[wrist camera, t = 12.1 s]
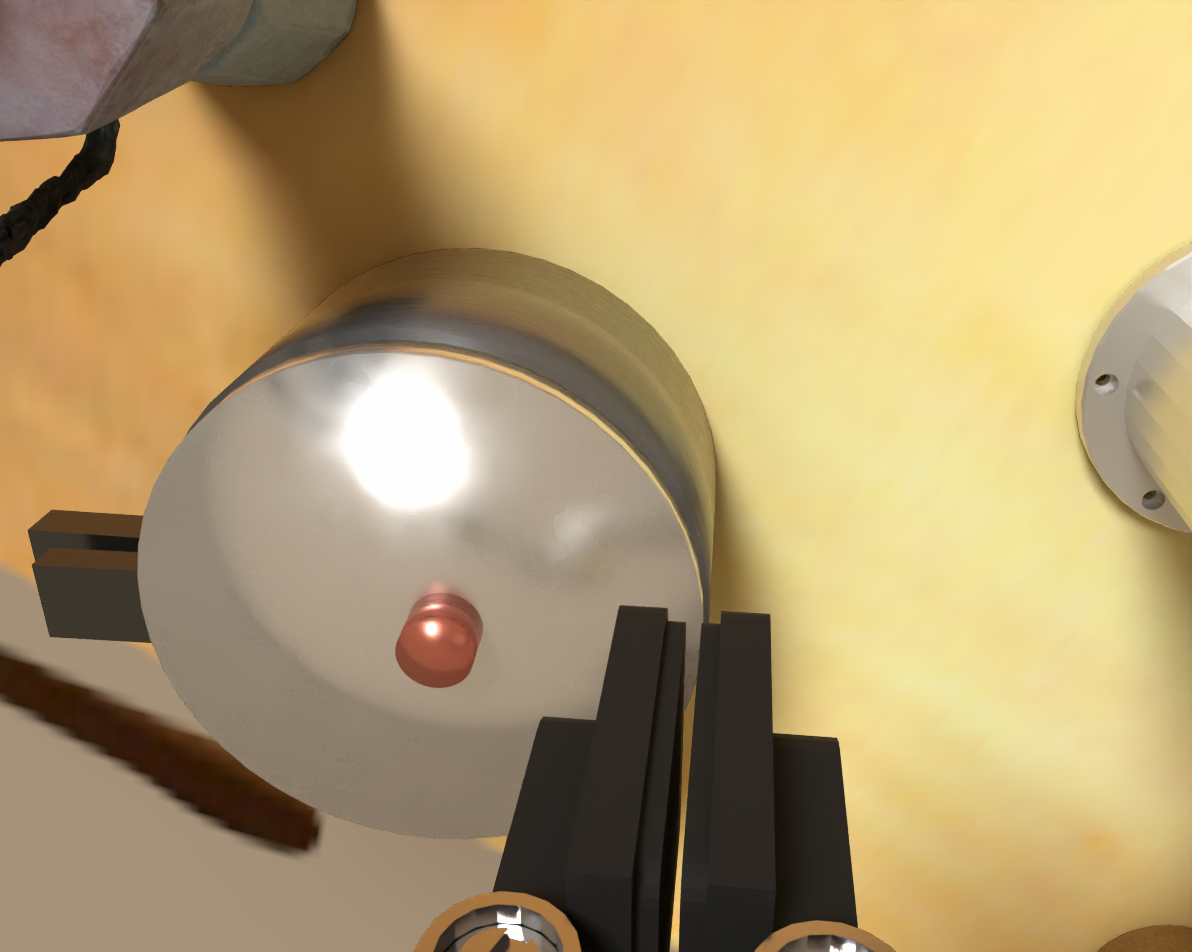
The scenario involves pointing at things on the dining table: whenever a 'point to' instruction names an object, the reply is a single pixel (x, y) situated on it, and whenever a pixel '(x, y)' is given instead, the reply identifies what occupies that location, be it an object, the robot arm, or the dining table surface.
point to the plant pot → (1152, 940)
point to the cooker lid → (390, 577)
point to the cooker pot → (512, 332)
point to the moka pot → (136, 72)
